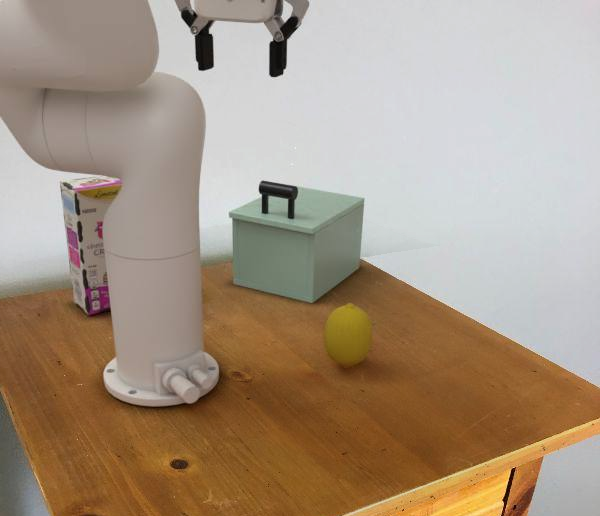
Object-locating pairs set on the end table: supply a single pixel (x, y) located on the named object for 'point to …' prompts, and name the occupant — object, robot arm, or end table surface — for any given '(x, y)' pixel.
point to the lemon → (348, 335)
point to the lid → (296, 207)
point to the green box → (296, 256)
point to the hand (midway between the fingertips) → (240, 72)
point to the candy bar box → (88, 238)
